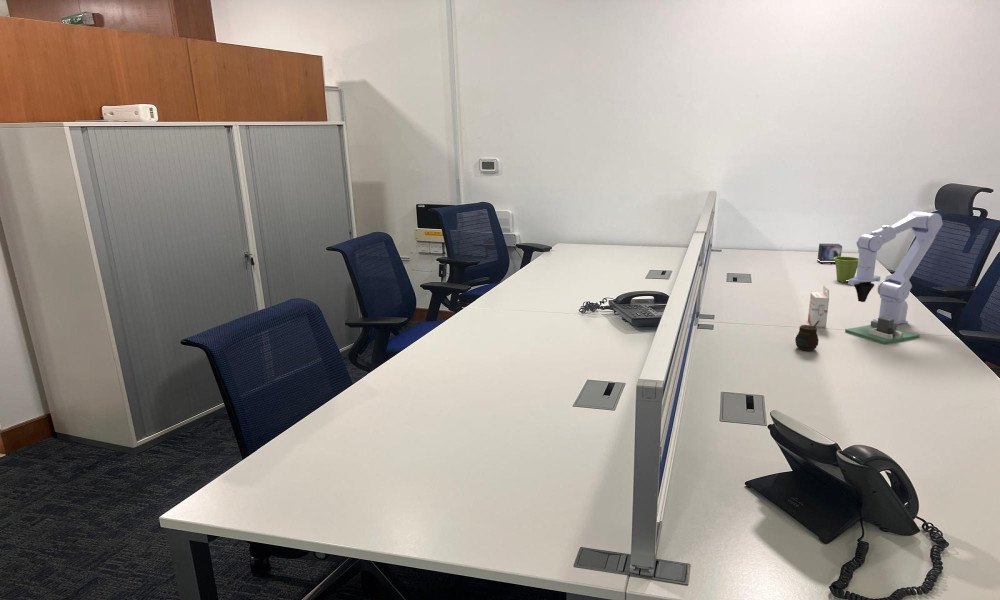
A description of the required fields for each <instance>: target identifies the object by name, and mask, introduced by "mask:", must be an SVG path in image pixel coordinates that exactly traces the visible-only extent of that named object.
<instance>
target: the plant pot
mask: <svg viewBox="0 0 1000 600" xmlns="http://www.w3.org/2000/svg"><path fill="white" fill-rule="evenodd" d="M834 259H835V264H834V265H835V272H836V273H835V274H836V280H837V281H838V282H842V283H847V282H848V281H846V280H849V279H852V278H854V276H856V275H857V267H858V259H859V257H855V256H841V257H834Z"/></svg>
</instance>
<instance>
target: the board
mask: <svg viewBox="0 0 1000 600" xmlns="http://www.w3.org/2000/svg"><path fill="white" fill-rule="evenodd" d="M877 323H878V319H877V320H873V319H872V320H871V321H870V324H868V325H862V326H857V327H855V326H854V327H851V328H850V327H849V328H845V329H844V332H845V333H847V334H850V335H853V336H857V337H860V338H862V339H863V338H864V339H867V340H869V341H872V342H876V343H879V344H882V345H888V344H891V343H892V344H893V343H898V342H903V341H909V340H914V339H917V338H920V334H918V333H915V332H911V331H907V330H903V329H901V328H898V327H897V325H898V324H897V323H895V322H894V325H893V328H894V329H896V332H895V337H893V335H892V334H886V333H882V332H879V331H877Z"/></svg>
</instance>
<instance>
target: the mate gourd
mask: <svg viewBox="0 0 1000 600" xmlns="http://www.w3.org/2000/svg"><path fill="white" fill-rule="evenodd" d="M818 323H819V321H817V323H816V324H815V325H814V326H812V325H811V324H810V325H809V324H801V325H799V329H798V330H799V331H798V332H797V334H796V336H795V341H794V343H795V346H796V348H797V349H799V350H801V351H804V352H805V351H806V352H811V351H814V350H815V349H817V347H818V345H819V337H818V336H819V335H818V333H817V332H818V328H817V327H815V326H816V325H817V324H818Z"/></svg>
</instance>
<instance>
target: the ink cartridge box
mask: <svg viewBox="0 0 1000 600" xmlns="http://www.w3.org/2000/svg"><path fill="white" fill-rule="evenodd" d="M822 291H823V292H822ZM822 291H821V292H820V291H819V292H816V291H813V292H812V291H811V292H810V295H809V296H810V298H809V306H808V313H807V314H808V315H807V321H808V323H809V324H810V325H811V326H814V325H815V324H816V323H817V321H819V323H818V324H817V325H816V326H815V327H816V328H817V327H819V328H826V327H827V321H828V320H827V319H828V312H829V303H830V289H828V288H827V287H826V285H823V288H822Z"/></svg>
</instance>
